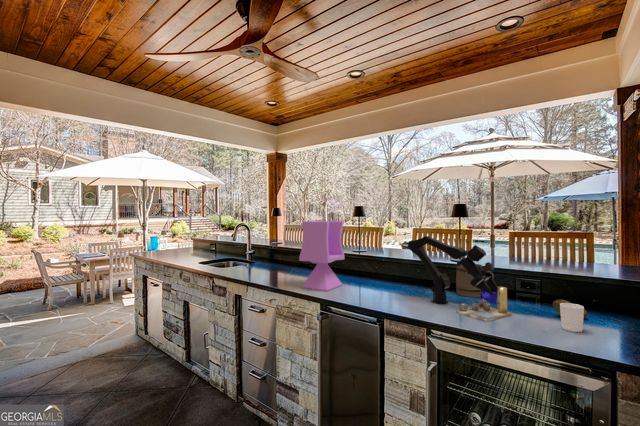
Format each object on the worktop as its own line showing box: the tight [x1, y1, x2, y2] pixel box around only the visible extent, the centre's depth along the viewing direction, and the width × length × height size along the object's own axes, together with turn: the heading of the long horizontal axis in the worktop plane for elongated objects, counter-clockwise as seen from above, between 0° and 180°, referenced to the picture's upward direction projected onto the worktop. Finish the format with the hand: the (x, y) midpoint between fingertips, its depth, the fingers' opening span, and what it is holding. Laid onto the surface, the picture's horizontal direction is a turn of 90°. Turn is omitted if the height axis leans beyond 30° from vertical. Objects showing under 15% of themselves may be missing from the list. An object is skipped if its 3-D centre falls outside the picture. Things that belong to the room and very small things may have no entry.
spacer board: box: [455, 305, 513, 323], centre depth 152 cm, size 16×20×1 cm
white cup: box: [560, 302, 585, 333], centre depth 131 cm, size 8×8×10 cm
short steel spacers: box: [459, 298, 491, 312], centre depth 156 cm, size 8×18×4 cm, turn 118°
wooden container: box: [455, 263, 483, 298], centre depth 191 cm, size 15×15×22 cm
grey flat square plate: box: [472, 311, 498, 319], centre depth 146 cm, size 8×8×1 cm
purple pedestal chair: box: [298, 220, 346, 293], centre depth 213 cm, size 22×22×45 cm
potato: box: [552, 298, 588, 319], centre depth 146 cm, size 8×13×8 cm, turn 54°
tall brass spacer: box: [496, 286, 508, 314], centre depth 151 cm, size 4×4×12 cm
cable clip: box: [480, 291, 498, 305], centre depth 177 cm, size 12×4×6 cm, turn 169°
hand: (495, 292), depth 153 cm, fingers open, 9 cm apart
